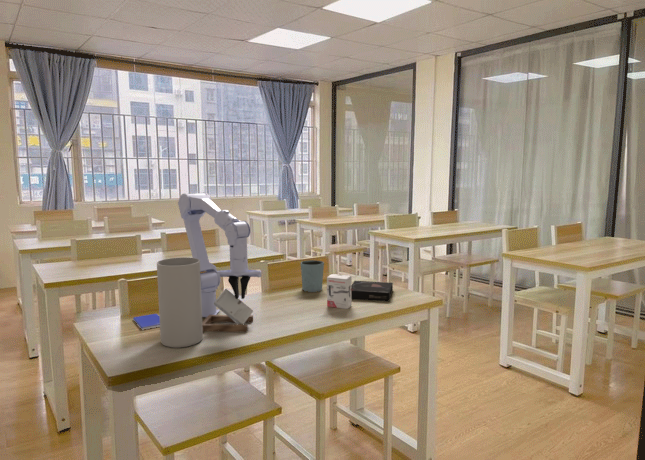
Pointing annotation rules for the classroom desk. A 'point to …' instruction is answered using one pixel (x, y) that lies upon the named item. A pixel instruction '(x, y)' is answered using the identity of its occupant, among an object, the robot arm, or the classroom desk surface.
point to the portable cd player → (371, 291)
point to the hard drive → (147, 321)
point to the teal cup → (312, 275)
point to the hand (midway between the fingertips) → (240, 298)
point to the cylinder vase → (180, 301)
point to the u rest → (224, 327)
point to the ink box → (339, 291)
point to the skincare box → (233, 307)
